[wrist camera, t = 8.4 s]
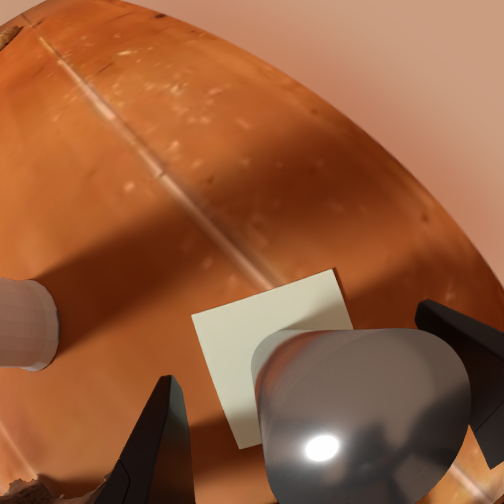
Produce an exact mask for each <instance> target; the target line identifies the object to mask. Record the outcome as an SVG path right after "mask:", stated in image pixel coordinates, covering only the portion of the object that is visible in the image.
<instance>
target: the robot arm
mask: <svg viewBox="0 0 504 504" xmlns="http://www.w3.org/2000/svg"><path fill="white" fill-rule="evenodd" d="M415 323H416V325H417V327H418V329H419V330H422V331H425V332H428V333H431V334H433V335H435V336H437V337H438V338H440V339H442V340H443V341H445V342H446V343H447V344H448V345H449V346H451V347H452V349H453V350H454V351H455V352H456V353H457V355H458V356H459V358H460V359H461V361H462V363H463V364H464V367H465V369H466V372H467V374H468V378H469V383H470V388H471V414H470V421H469V425H470V427H471V429H472V431H473V432H474V435H475V438H476V440H477V442H478V444H479V446H480V448H481V450H482V453H483V455H484V457H485V460H486V462H487V464H488V467H489V468H490V470H491V469H493V468H494V467H496V466H497V465H499V464H500V463H502V462H503V461H504V332H501V331H499V330H497V329H495V328H493V327H491V326H488V325H486V324H484V323H482V322H480V321H477V320H475V319H473V318H471V317H468V316H466V315H464V314H462V313H460V312H457V311H455V310H453V309H450V308H448V307H446V306H444V305H441V304H439V303H437V302H435V301H432V300H430V299H426V300H423V301H421V302H419V304H418V307H417V311H416V314H415ZM119 458H120V459H118V461H117V463H116V465H115V467H114V469H113V471H112V472H111V474H110V476H109V478H108V480H107V481H106V483H105V485H104V486H103V488H102V490H101V491H100V493H99V494H98V496H97V497H96V499H95V500H94V502H93V503H92V504H196V502H195V493H194V483H193V472H192V460H191V447H190V433H189V426H188V421H187V415H186V409H185V403H184V397H183V392H182V389H181V387H180V385H179V384H178V382H177V381H176V379H175V378H174V376H173V375H166V376H161V377H160V378H159V380H158V382H157V384H156V386H155V388H154V390H153V392H152V394H151V396H150V398H149V400H148V401H147V403H146V405H145V407H144V409H143V411H142V413H141V415H140V417H139V419H138V421H137V423H136V425H135V427H134V429H133V431H132V433H131V435H130V437H129V439H128V441H127V443H126V445H125V447H124V449H123V451H122V453H121V455H120V457H119ZM493 504H504V494H503V495H502V496H501V497H500V498H499V499H498V500H497V501H496V502H494V503H493Z"/></svg>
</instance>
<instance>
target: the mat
mask: <svg viewBox="0 0 504 504" xmlns="http://www.w3.org/2000/svg"><path fill="white" fill-rule="evenodd" d="M191 316H192V319H193V322H194V325H195V329H196V332H197V335H198V338H199V341H200V344H201V347H202V350H203V353H204V356H205V359H206V362H207V365H208V368H209V371H210V374H211V377H212V380H213V383H214V385H215V388H216V391H217V394H218V396H219V399H220V402H221V404H222V407H223V410H224V412H225V415H226V418H227V420H228V423H229V425H230V428H231V430H232V433H233V435H234V438H235V440H236V443H237V445H238V447H239V449H243V448H247V447H251V446H254V445H258V444H261V443H262V440H261V434H260V427H259V421H258V414H257V408H256V401H255V394H254V388H253V381H252V374H251V360H252V356H253V354H254V351H255V349H256V348H257V346H258V345H259V344H260V342H261V341H262V340H263V339H265V338H266V337H267V336H269V335H271V334H273V333H275V332H278V331H281V330H354V329H353V326H352V323H351V320H350V317H349V314H348V312H347V309H346V306H345V303H344V300H343V297H342V295H341V292H340V289H339V286H338V284H337V281H336V278H335V276H334V273H333V270H332V269H330V270H327V271H324V272H321V273H318V274H316V275H313V276H310V277H307V278H304V279H301V280H298V281H296V282H293V283H290V284H287V285H284V286H281V287H278V288H275V289H272V290H269V291H266V292H263V293H260V294H257V295H254V296H251V297H248V298H245V299H242V300H239V301H235V302H232V303H229V304H226V305H223V306H220V307H216V308H213V309H210V310H207V311H204V312H200V313H197V314H194V315H191Z"/></svg>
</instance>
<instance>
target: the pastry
mask: <svg viewBox="0 0 504 504" xmlns="http://www.w3.org/2000/svg"><path fill="white" fill-rule="evenodd" d="M18 31H19V27H18V26H13V27H10V28H8V30H5V31H3V32H2V33H0V50H2V48H3V47H5V44H6V43H8V42H9V41H11V39H12V38H13V37H14V36H15V35H16V34H17V33H18Z"/></svg>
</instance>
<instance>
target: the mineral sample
mask: <svg viewBox="0 0 504 504" xmlns="http://www.w3.org/2000/svg"><path fill="white" fill-rule="evenodd" d="M111 472H112V471H111ZM111 472H110V473H108V474H107V475H106V476H105V479H104V482H103V483H102V484H101V485H99V486H98V487H97V488H96V489H95V490H92V491H90V492H88V493H86V494H85V495H84V496H83V497H75V498H72V499H64V498H65V495H64V494H62V495H61V496H60V498H55V497H53V496H52V495H51V494H50V492H49V491H48V490H47V489H46V488H45V487H44V485H43V484H42V483H41V482H38V481H36V480H34V479H32V480H31V482H26V481H22V480H21V479H19V480H15V481H14V482H13V483H10V484H9V485H10V488H9V489H8V491H7V493H5V494H4V496H0V504H92V503H93V502H94V500H95V499H96V497H97V496H98V494H99V493H100V491H101V490H102V488H103V486H104V485H105V483H106V481H107V480H108V478H109V476H110V474H111Z"/></svg>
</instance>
